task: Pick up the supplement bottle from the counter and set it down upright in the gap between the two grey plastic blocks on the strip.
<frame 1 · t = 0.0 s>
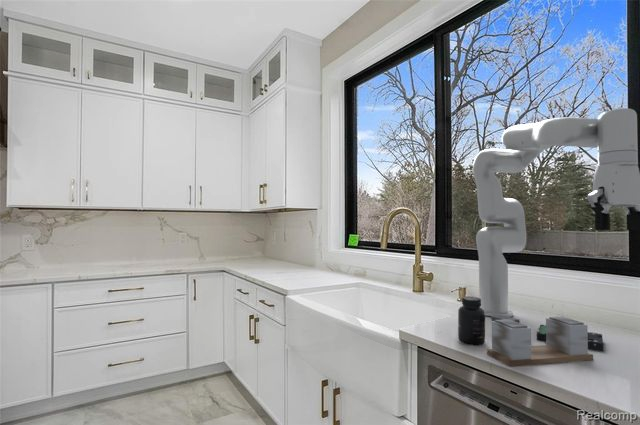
hand: (618, 230, 87), 31 cm above the countertop, tool pointing down, fingers open, 9 cm apart
disk drive: (569, 343, 100), on the countertop
supplement bottle: (471, 342, 98), on the countertop
rail: (539, 356, 87), on the countertop
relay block: (505, 335, 104), on the countertop
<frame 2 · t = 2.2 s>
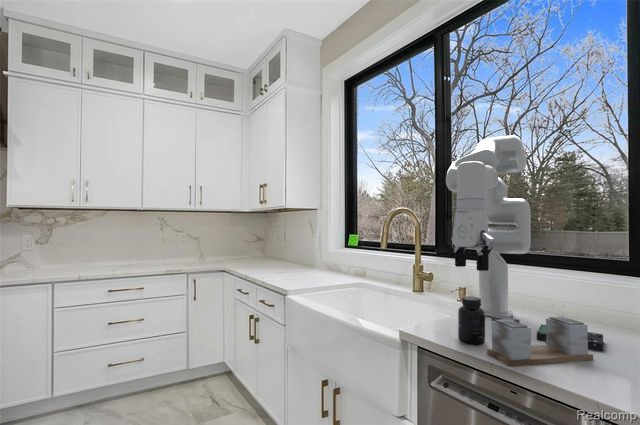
hand: (471, 268, 98), 20 cm above the countertop, tool pointing down, fingers open, 9 cm apart
nothing on the countertop moved.
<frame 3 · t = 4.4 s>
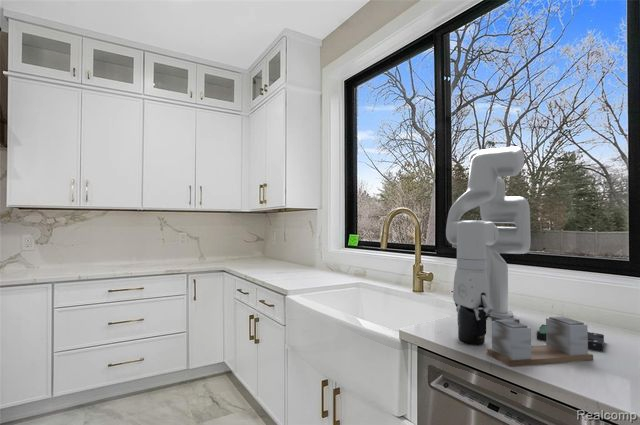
hand: (471, 329, 98), 3 cm above the countertop, tool pointing down, fingers closed on supplement bottle, 6 cm apart
supplement bottle: (471, 342, 98), on the countertop, touching gripper
everything else where it was.
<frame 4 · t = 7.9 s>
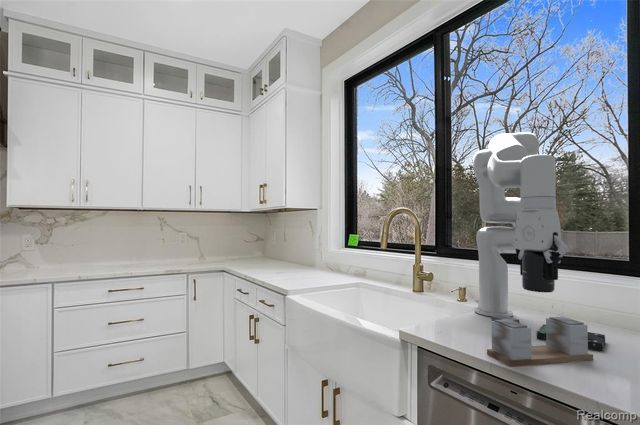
hand: (538, 276, 88), 19 cm above the countertop, tool pointing down, fingers closed on supplement bottle, 6 cm apart
supplement bottle: (538, 291, 87), point 16 cm above the countertop, touching gripper
everything else where it was.
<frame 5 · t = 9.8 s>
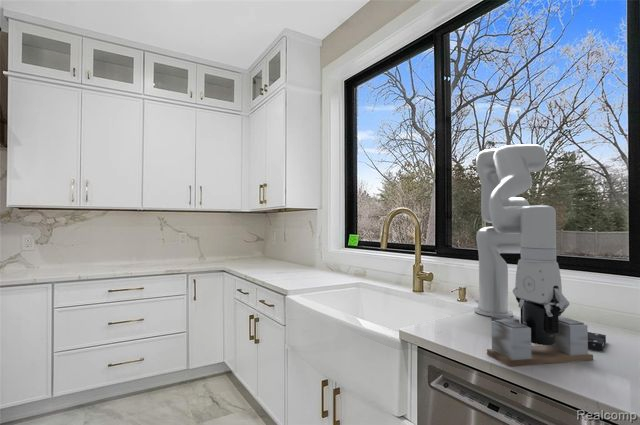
hand: (538, 327, 87), 7 cm above the countertop, tool pointing down, fingers closed on supplement bottle, 6 cm apart
supplement bottle: (538, 341, 87), point 4 cm above the countertop, touching gripper
everything else where it was.
when the fingers open (6 cm above the countertop, at t = 11.2 s): supplement bottle stays where it is, resting on rail.
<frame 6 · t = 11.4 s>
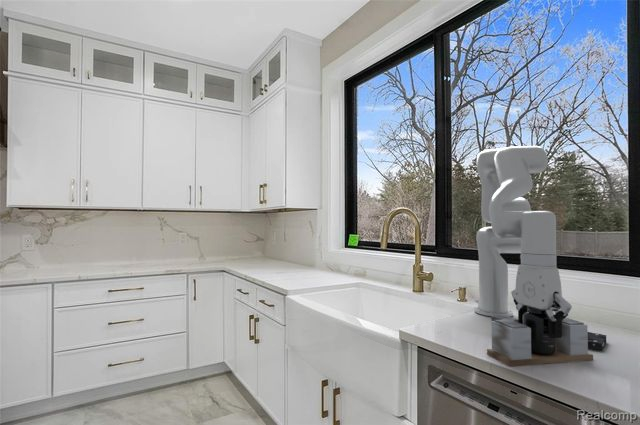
hand: (538, 331, 87), 6 cm above the countertop, tool pointing down, fingers open, 8 cm apart
supplement bottle: (538, 352, 87), point 1 cm above the countertop, touching rail
everything else where it was.
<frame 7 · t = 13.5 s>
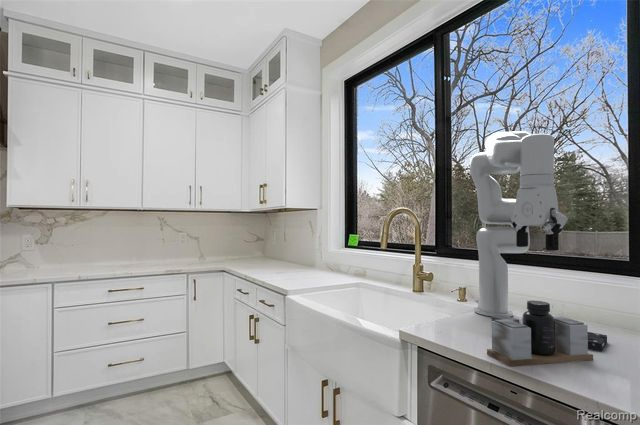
hand: (536, 248, 92), 26 cm above the countertop, tool pointing down, fingers open, 9 cm apart
nothing on the countertop moved.
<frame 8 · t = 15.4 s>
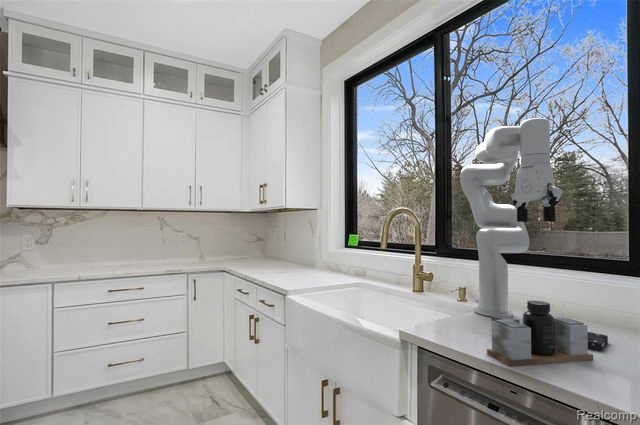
hand: (535, 221, 102), 33 cm above the countertop, tool pointing down, fingers open, 9 cm apart
nothing on the countertop moved.
at the end: supplement bottle inside the target area on the rail (0.1 cm from its centre), point 1.0 cm above the rail's base; supplement bottle tilted 0°; the gripper is holding nothing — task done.
